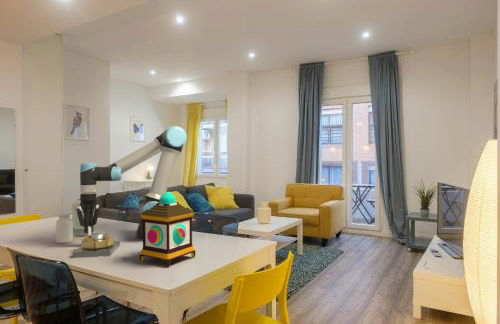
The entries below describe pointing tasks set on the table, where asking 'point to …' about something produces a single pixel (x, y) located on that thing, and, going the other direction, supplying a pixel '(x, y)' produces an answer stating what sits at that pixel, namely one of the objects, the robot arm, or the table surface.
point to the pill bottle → (64, 229)
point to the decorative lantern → (167, 230)
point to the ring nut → (97, 242)
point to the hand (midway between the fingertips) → (88, 239)
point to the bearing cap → (96, 251)
